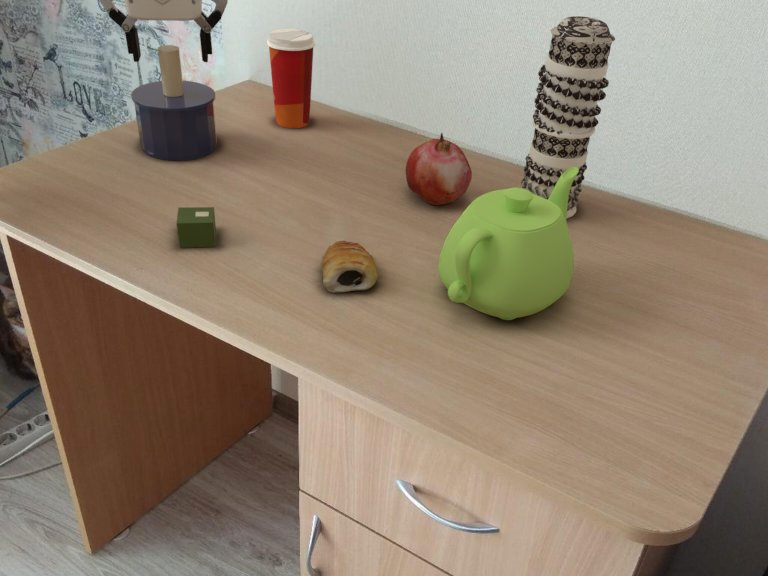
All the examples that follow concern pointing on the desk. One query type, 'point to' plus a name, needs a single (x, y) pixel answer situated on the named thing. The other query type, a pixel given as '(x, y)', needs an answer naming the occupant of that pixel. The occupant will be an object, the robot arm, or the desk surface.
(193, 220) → the olive cube with label
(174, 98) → the lid
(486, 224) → the teapot
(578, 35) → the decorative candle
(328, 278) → the pastry
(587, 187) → the desk surface
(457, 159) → the fruit
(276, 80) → the paper cup
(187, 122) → the dark blue round pot
